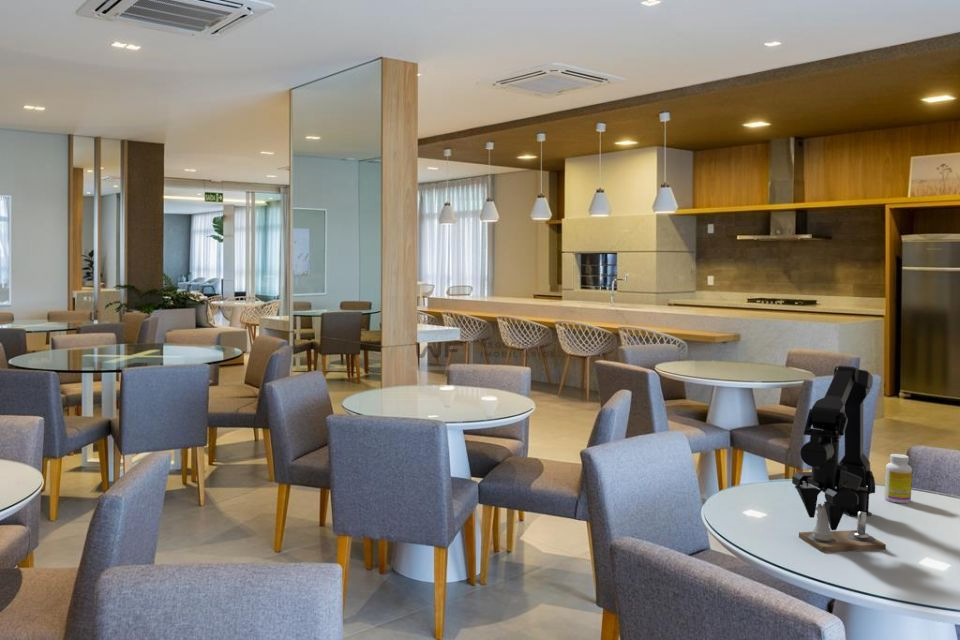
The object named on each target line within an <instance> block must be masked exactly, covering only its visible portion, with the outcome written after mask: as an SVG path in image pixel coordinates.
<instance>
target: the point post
mask: <svg viewBox="0 0 960 640" xmlns="http://www.w3.org/2000/svg"><path fill="white" fill-rule="evenodd" d="M856 521H857V523H856V525H857V527H856V530H857V532H854V537H855V538H858V539H868V536H869V535H870V534H868V533H867V532H866V530H867V529H866V527H867V526H866V525H867V523H866V522H867V515H866V512H862V511H859V512H858V516H857V520H856Z"/></svg>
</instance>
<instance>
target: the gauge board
mask: <svg viewBox="0 0 960 640" xmlns="http://www.w3.org/2000/svg"><path fill="white" fill-rule="evenodd" d="M830 531H831V532H832V535H831V537H832V539H831V540H830V541H820V540H816V539H814V538H813V536H812V534H814V533H813V532H812V531H803V532H802V531H801V532H798V538H799V539H801V540H803V541H804V542H806V543H807V544H809V545H810V546H811V547H813V548H814V549H816V550H818V551H820V552H821V553H829V552H856V551H857V552H858V551H875V550H876V551H878V550H881V551H882V550H886V548H887V547H886V546H887V544H886V543H884V542H883V541H880V540H879V539H877V538H875V537H874V536H872V535H870V534H868V535H869V536H868V539H858V538H855V537H854V532H857V529H856V530H830Z"/></svg>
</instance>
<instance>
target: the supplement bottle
mask: <svg viewBox="0 0 960 640" xmlns="http://www.w3.org/2000/svg"><path fill="white" fill-rule="evenodd" d="M889 456H890V457H889V461H890V462H888V463H887V464H886V465H885V473H884V474H885V475H884V476H885V479H884V499H885V500H886V501H888V502H892V503H895V502H898V503H897V504H908V503H907V502H909V503H910V502H911V501H912V485H913V484H912V482H913V477H912V476H913V468H912V466H910V465H909V464H908V463H909V461H910V457H909V456H908V455H906V454H901V453H891V454H890V455H889Z"/></svg>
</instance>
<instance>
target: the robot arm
mask: <svg viewBox="0 0 960 640" xmlns="http://www.w3.org/2000/svg"><path fill="white" fill-rule="evenodd" d="M873 380H874V377H873V375H872V374H871V373H870V372H869V371H868V370H867V369H859V368H858V367H855V366H850V365H838V366H837V365H835V368H834V370H833V377H832V380H831V382H830V384H829V386H828V387H827V391H826V393H825V395H824V396H823V397H822V398H820V399H817V400H816V401H815V402H814V404H813V405H812V407H811V408H809V410H808V415H807V419H806V423H805V427H804V431H803V435H805V436H810V437H809V441H808V442H806V443H804V444H803V445H802V447H801V449H800V452H799V453H800V458H801V460H802V461H803V462H804V463H805V464H806V465H807V466H809V467H811V471H795V473H794V474H793V475H792V479H791V484H793V485H794V488H795V489H796V491H797V492H798V495H799V497H800V499H801V501H802V504H803V505H804V508H805V510H806V513H807V515H808V518H811V519H812V518H815V515H816V512H817V510H816V508H817V505H818V496H819V494H820V493H821V492H822V493H824V499H825V501H823V504H825V508H826V512H827V517H828V521H829V528H830V531H837V529H838V526H839V524H840V522H841V520H842V518H843V515H844V514H846V515H848V516H851V517H853V516H855V517H858V512H859V511H862V512H866V516H872V515H873V513H872V512H870V511H869V507H870V504H869V503H870V495H871V494H875V493H876V480H875V476H874V474H873V471H872V470H871V462H870V460H869V459H868V458H867V456H866V455H865V453H864V400H865V399H866V398H867V397H868V395H869V394H870V393H871V390H872V388H873V382H874V381H873ZM842 436H844V455H843V457H841V459H840V461H839V458H840V439H841V438H842Z"/></svg>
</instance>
